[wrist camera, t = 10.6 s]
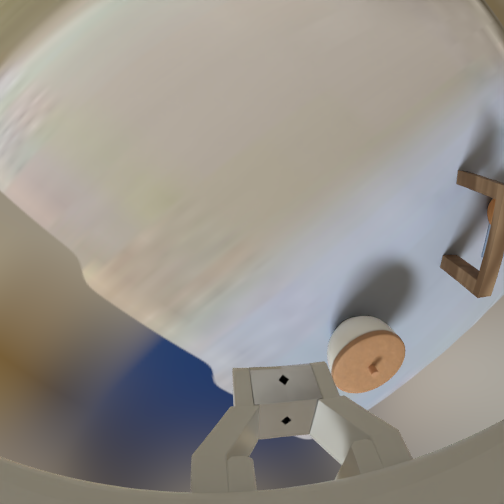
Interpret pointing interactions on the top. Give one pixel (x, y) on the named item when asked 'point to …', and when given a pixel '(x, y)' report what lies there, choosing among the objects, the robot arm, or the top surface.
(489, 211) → the ball
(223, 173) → the top surface
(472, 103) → the top surface
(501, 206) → the bridge
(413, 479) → the robot arm
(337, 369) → the lidded jar
